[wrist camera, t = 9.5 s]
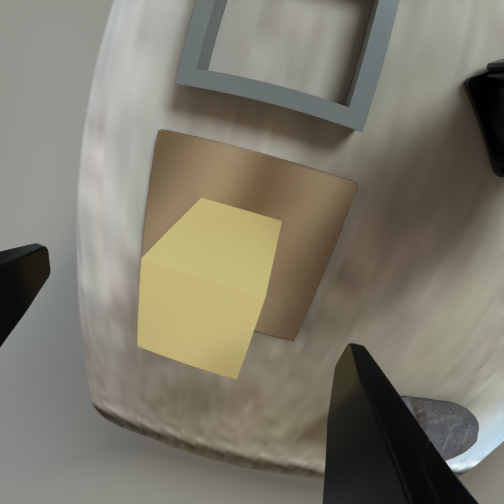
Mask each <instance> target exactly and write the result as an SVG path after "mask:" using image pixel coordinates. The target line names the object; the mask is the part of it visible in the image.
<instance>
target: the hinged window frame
mask: <svg viewBox="0 0 504 504" xmlns="http://www.w3.org/2000/svg"><path fill="white" fill-rule="evenodd" d="M226 2H227V0H197V1H196V4H195V8H194V11H193V14H192V18H191V21H190V25H189V28H188V32H187V36H186V39H185V43H184V47H183V51H182V55H181V59H180V63H179V67H178V71H177V75H176V79H175V84H181V85H187V86H192V87H198V88H203V89H209V90H214V91H219V92H223V93H228V94H233V95H237V96H242V97H246V98H250V99H254V100H258V101H262V102H266V103H270V104H274V105H278V106H281V107H285V108H289V109H292V110H296V111H299V112H303V113H306V114H309V115H312V116H316V117H319V118H322V119H325V120H328V121H331V122H334V123H337V124H340V125H343V126H346V127H349V128H352V129H355V130H357V131H360V132H362V131H363V128H364V125H365V122H366V119H367V116H368V112H369V109H370V106H371V102H372V99H373V96H374V92H375V89H376V86H377V82H378V79H379V75H380V72H381V68H382V65H383V61H384V57H385V54H386V50H387V46H388V43H389V39H390V35H391V31H392V27H393V23H394V19H395V15H396V11H397V7H398V3H399V0H374V4H373V8H372V11H371V15H370V19H369V23H368V27H367V30H366V34H365V38H364V41H363V45H362V49H361V52H360V56H359V59H358V63H357V66H356V70H355V73H354V77H353V80H352V84H351V87H350V91H349V94H348V97H347V101H346V104H345V106H344V105H341V104H338V103H335V102H332V101H329V100H325V99H322V98H319V97H316V96H313V95H309V94H306V93H302V92H299V91H295V90H292V89H288V88H284V87H281V86H277V85H273V84H269V83H265V82H261V81H256V80H252V79H248V78H243V77H238V76H234V75H229V74H224V73H218V72H213V71H207V70H208V67H209V63H210V59H211V55H212V51H213V48H214V44H215V40H216V37H217V33H218V30H219V26H220V23H221V19H222V16H223V12H224V9H225V6H226Z"/></svg>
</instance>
